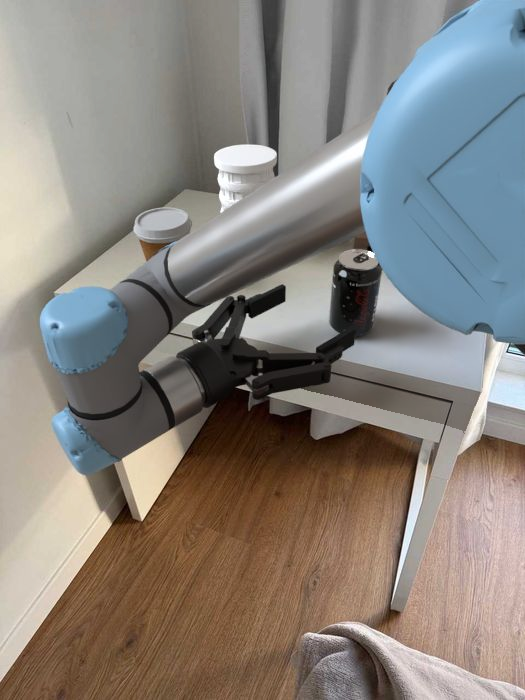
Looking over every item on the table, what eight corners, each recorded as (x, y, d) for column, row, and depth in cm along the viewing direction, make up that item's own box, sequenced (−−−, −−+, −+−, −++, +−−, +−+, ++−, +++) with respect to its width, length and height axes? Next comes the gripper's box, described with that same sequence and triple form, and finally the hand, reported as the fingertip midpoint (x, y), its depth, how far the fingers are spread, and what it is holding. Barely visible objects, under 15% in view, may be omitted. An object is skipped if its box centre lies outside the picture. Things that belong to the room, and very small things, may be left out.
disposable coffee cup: (133, 285, 88) (119, 221, 80) (172, 262, 93) (162, 201, 86) (171, 302, 83) (160, 237, 75) (209, 278, 89) (203, 215, 81)
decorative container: (207, 247, 97) (198, 154, 86) (252, 229, 103) (249, 139, 92) (245, 270, 91) (240, 172, 79) (291, 249, 96) (293, 154, 85)
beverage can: (382, 327, 77) (393, 259, 69) (353, 346, 73) (362, 277, 66) (348, 308, 81) (355, 242, 73) (319, 326, 77) (324, 258, 70)
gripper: (142, 355, 69) (260, 297, 79) (256, 467, 54) (383, 378, 64) (132, 311, 64) (258, 256, 74) (254, 420, 49) (391, 333, 59)
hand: (316, 312), depth 69 cm, fingers open, 13 cm apart
